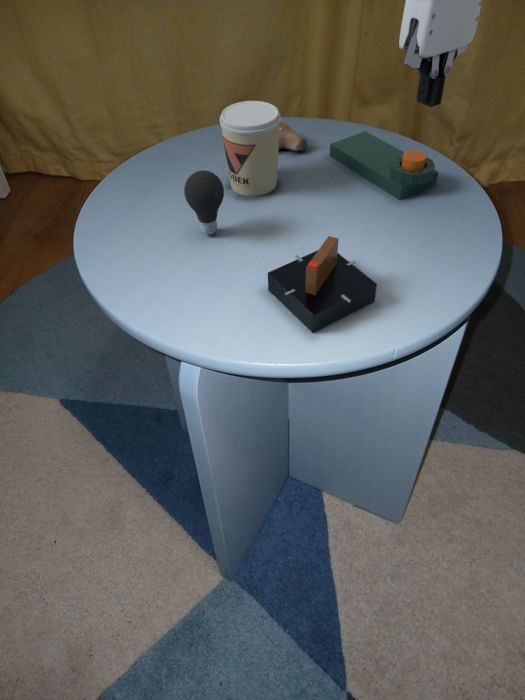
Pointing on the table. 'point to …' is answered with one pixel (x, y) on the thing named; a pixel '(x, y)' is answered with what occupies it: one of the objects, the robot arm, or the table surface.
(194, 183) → the light bulb
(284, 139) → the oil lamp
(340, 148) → the button box
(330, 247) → the wooden rectangular beam
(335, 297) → the clamp block
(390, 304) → the table surface
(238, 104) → the coffee cup
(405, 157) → the button
